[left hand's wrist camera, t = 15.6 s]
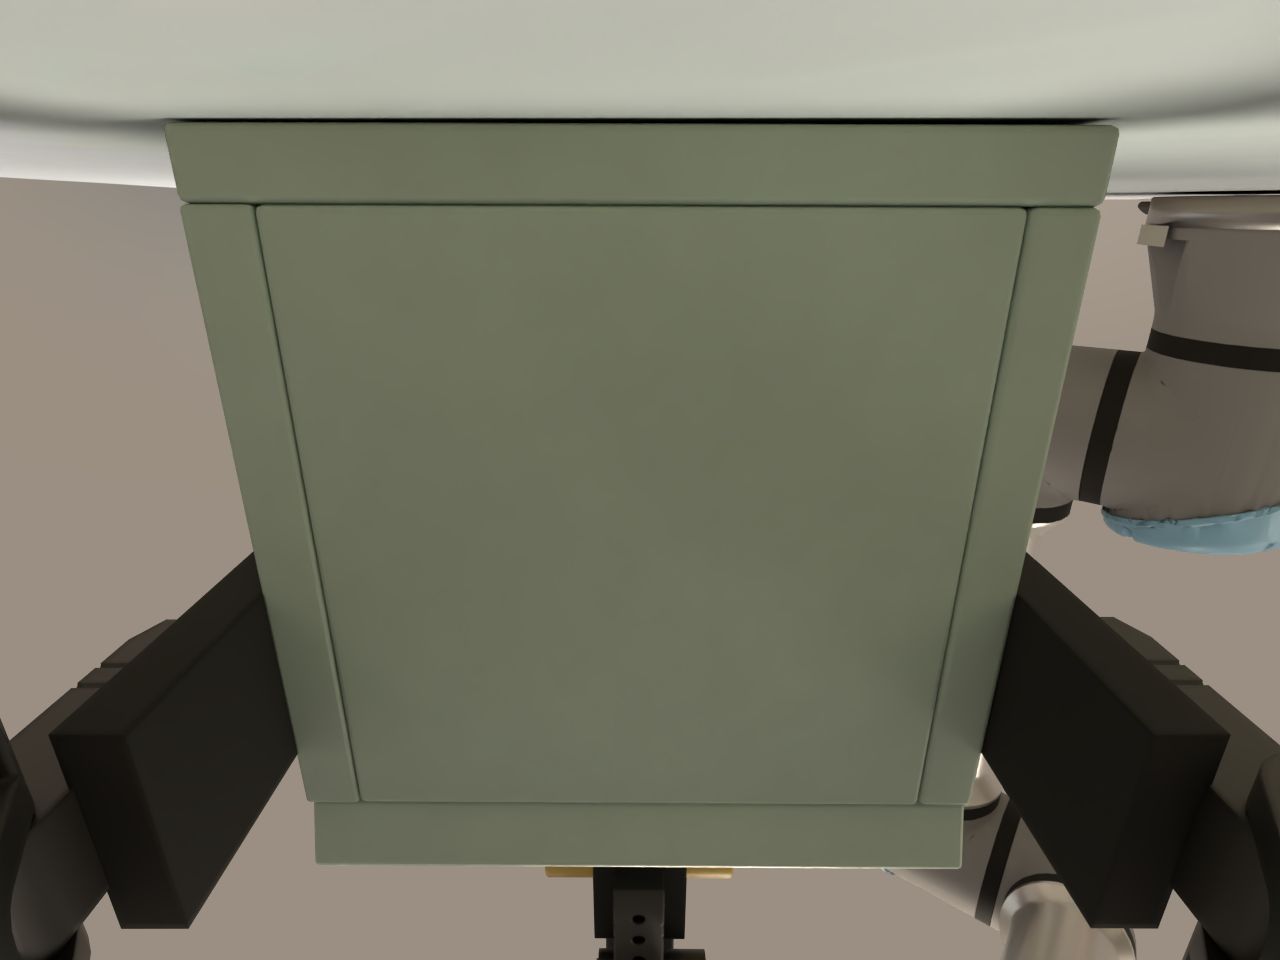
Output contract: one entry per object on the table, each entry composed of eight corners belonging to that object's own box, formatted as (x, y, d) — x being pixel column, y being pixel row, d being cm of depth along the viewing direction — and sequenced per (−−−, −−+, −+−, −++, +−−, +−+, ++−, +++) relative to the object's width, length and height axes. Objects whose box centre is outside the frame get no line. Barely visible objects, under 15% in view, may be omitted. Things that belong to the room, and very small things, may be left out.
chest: (825, 176, 20) (797, 489, 23) (459, 175, 20) (484, 487, 23) (1125, 123, 7) (972, 807, 11) (158, 121, 7) (305, 804, 11)
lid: (785, 599, 25) (781, 821, 25) (495, 597, 25) (497, 820, 25) (966, 803, 11) (950, 1286, 11) (311, 799, 11) (322, 1282, 11)
